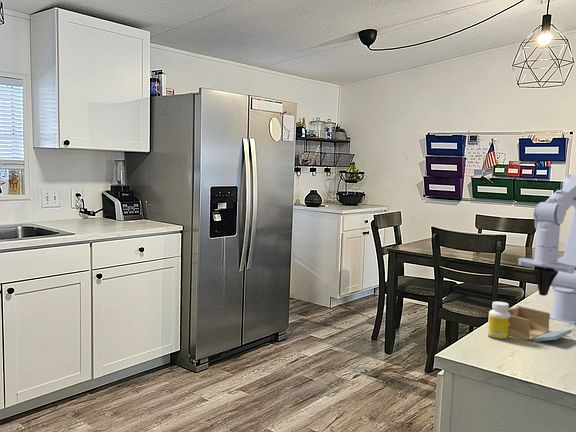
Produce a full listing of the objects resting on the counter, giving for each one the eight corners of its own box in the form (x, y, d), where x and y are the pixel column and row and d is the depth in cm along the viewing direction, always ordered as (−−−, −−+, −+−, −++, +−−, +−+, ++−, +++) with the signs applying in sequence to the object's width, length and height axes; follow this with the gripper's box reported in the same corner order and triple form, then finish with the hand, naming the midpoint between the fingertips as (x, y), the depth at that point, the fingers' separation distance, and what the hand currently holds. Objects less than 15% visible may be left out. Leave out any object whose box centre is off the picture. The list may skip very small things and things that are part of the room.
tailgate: (549, 332, 142) (571, 329, 138) (550, 335, 142) (572, 333, 138) (532, 338, 136) (555, 336, 132) (533, 342, 136) (556, 340, 132)
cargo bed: (516, 326, 151) (517, 305, 150) (552, 335, 143) (553, 313, 142) (494, 334, 143) (495, 312, 142) (530, 344, 135) (532, 321, 135)
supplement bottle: (511, 343, 135) (513, 306, 134) (489, 342, 136) (491, 305, 136) (506, 337, 141) (509, 301, 140) (485, 335, 142) (487, 299, 141)
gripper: (514, 243, 147) (510, 291, 148) (568, 251, 136) (564, 302, 137) (526, 241, 151) (523, 288, 153) (579, 248, 140) (575, 298, 142)
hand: (543, 294), depth 145 cm, fingers closed
